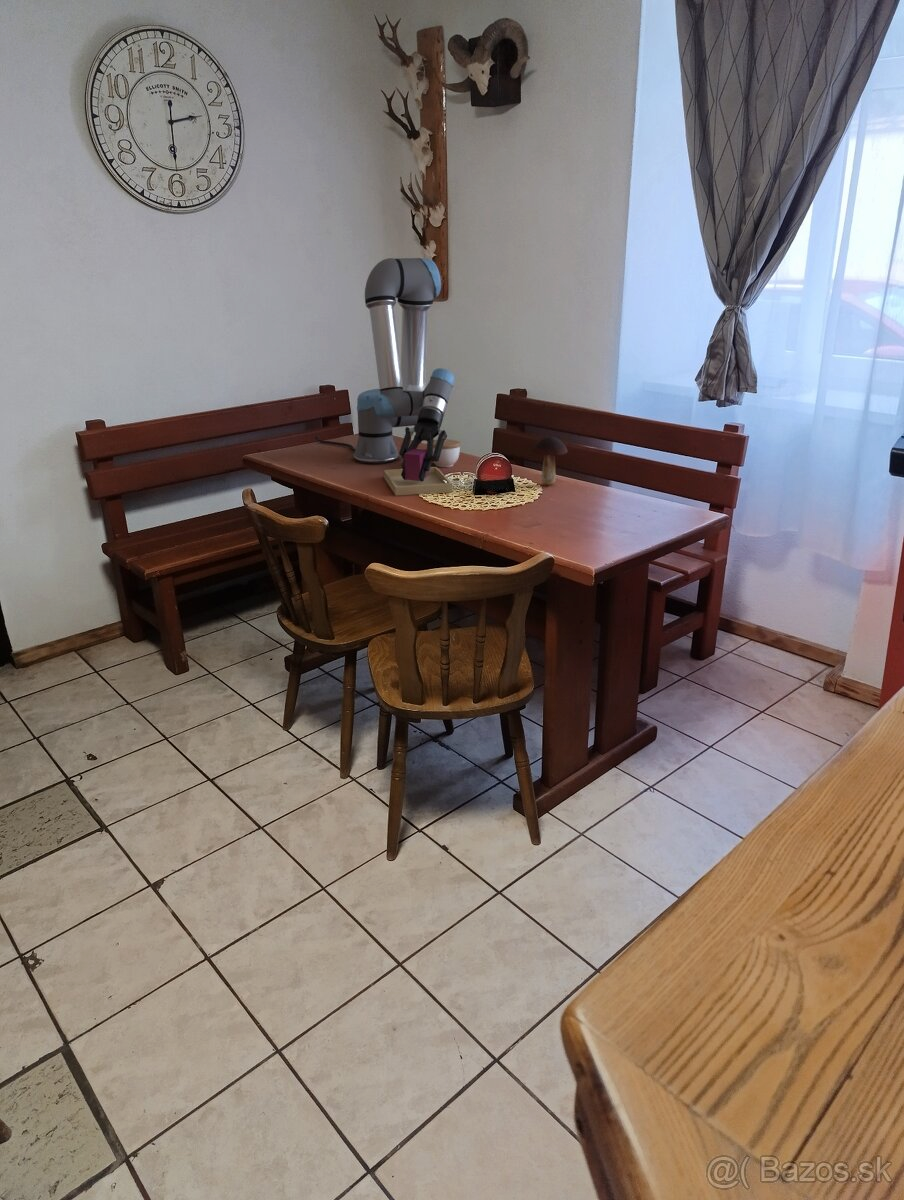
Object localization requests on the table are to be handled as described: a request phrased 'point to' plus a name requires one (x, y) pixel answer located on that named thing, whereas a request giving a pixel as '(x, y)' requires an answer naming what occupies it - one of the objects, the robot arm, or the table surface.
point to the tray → (417, 483)
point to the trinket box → (448, 453)
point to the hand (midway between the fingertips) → (412, 478)
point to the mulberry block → (414, 464)
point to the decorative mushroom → (549, 457)
